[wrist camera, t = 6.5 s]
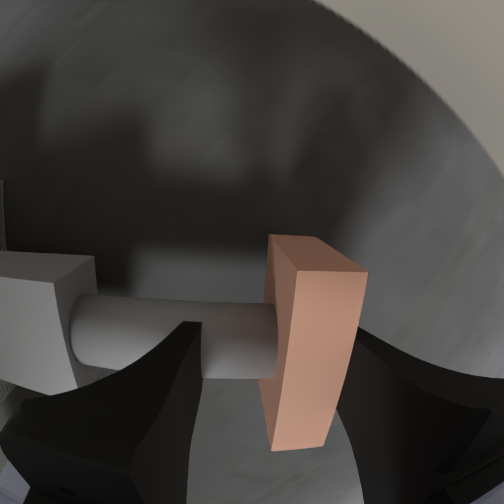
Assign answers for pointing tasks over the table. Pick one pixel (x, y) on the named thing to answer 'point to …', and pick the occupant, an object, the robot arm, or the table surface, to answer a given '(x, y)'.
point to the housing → (3, 388)
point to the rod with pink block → (212, 334)
